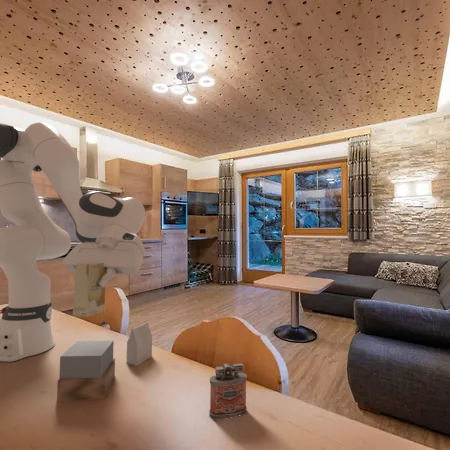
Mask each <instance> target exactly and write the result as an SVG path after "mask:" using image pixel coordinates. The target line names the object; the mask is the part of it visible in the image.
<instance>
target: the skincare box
mask: <svg viewBox="0 0 450 450" xmlns="http://www.w3.org/2000/svg"><path fill="white" fill-rule="evenodd" d="M103 265H104V263H100V262H85V263H77V264H76V272H75V273H74V275H75V276H74V289H73V290H74V293H73V295H74V296H73V304H72V305H73V307H72V308H73V309H72V315H73V316H79V317H88V318H89V317H92V316H94V315H97V314H98V313H101V312H104V311H105V304H106V303H105V299H106V286H105V287H98V286H97V285H96V281H98V278H99V277H100V278H102V277H103V276H104V275H105V274H106V267H103Z"/></svg>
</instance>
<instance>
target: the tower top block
mask: <svg viewBox="0 0 450 450" xmlns="http://www.w3.org/2000/svg"><path fill="white" fill-rule="evenodd" d="M114 342H115V341H114V340H78V341H76V342H75V343H74V344H72V345H71V346H69V348H68V349H67V350H66V351H64V353H62V354H61V355H60V356H59V376H58V379H79V378H101V377H102V375H103V374H104V373H105V371H106V370H107V368H108V367H109V365H110V364H111V362H112V361H113V358H114V345H115V344H114Z"/></svg>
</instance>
